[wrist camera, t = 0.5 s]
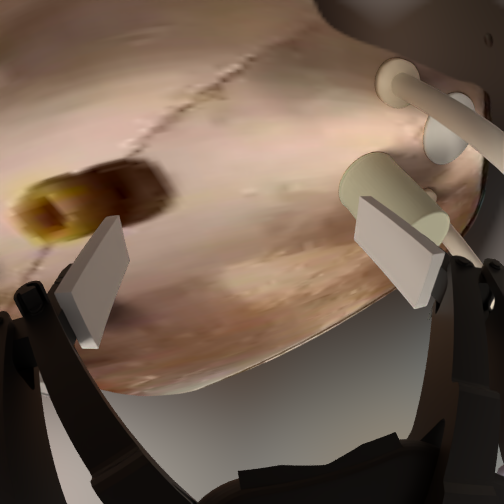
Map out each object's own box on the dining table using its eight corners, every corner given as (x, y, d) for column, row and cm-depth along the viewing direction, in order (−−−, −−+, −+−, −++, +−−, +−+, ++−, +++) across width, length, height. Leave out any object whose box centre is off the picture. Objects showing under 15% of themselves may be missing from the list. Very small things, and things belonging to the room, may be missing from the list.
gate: (367, 69, 22) (610, 289, 4) (406, 50, 21) (635, 233, 3) (408, 222, 43) (499, 362, 25) (433, 204, 42) (527, 336, 24)
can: (335, 164, 31) (394, 236, 23) (396, 143, 30) (461, 203, 23) (340, 218, 38) (385, 286, 30) (393, 195, 38) (442, 255, 30)
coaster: (436, 84, 25) (440, 85, 24) (480, 101, 27) (483, 102, 27) (412, 161, 33) (415, 163, 33) (457, 163, 36) (460, 165, 35)
